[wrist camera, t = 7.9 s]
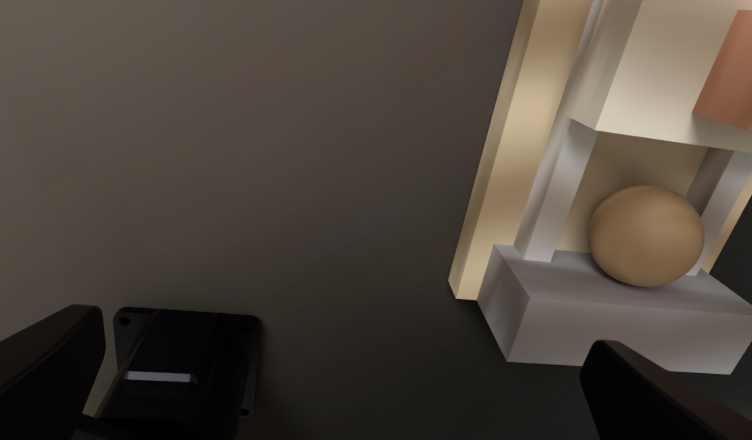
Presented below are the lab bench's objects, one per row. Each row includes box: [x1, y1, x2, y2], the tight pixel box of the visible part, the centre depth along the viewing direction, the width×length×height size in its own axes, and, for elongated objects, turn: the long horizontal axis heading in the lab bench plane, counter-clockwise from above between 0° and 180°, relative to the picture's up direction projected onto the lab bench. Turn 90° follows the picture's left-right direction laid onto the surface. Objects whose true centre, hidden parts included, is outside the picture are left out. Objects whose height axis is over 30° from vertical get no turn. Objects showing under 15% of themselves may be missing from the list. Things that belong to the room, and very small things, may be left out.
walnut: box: [587, 185, 705, 287], centre depth 18 cm, size 4×4×4 cm
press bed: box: [448, 0, 752, 374], centre depth 17 cm, size 22×12×6 cm, turn 171°
